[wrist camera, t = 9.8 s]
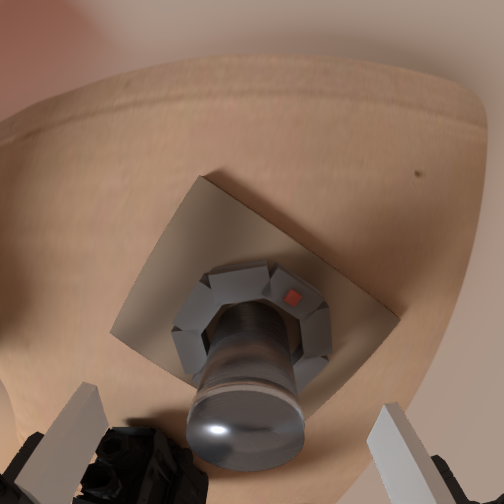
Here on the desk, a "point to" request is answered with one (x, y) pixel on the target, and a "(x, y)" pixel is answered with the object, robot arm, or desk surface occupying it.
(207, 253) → the mount board
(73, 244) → the desk surface
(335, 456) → the desk surface
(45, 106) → the desk surface
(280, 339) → the lens
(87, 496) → the camera
